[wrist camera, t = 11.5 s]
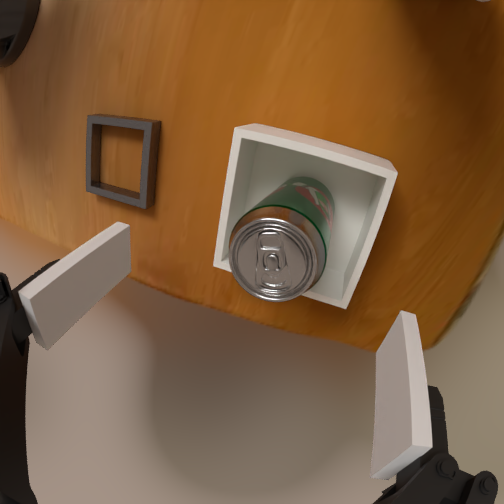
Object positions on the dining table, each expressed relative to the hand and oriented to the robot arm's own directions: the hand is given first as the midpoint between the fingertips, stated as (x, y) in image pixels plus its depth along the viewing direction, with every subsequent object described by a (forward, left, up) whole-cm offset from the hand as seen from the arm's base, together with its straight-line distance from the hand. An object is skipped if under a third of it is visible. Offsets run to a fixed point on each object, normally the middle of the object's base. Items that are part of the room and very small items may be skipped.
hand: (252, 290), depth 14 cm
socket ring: (-19, 0, -14) cm, 24 cm away
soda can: (0, 0, -14) cm, 14 cm away
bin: (0, 0, -14) cm, 14 cm away
